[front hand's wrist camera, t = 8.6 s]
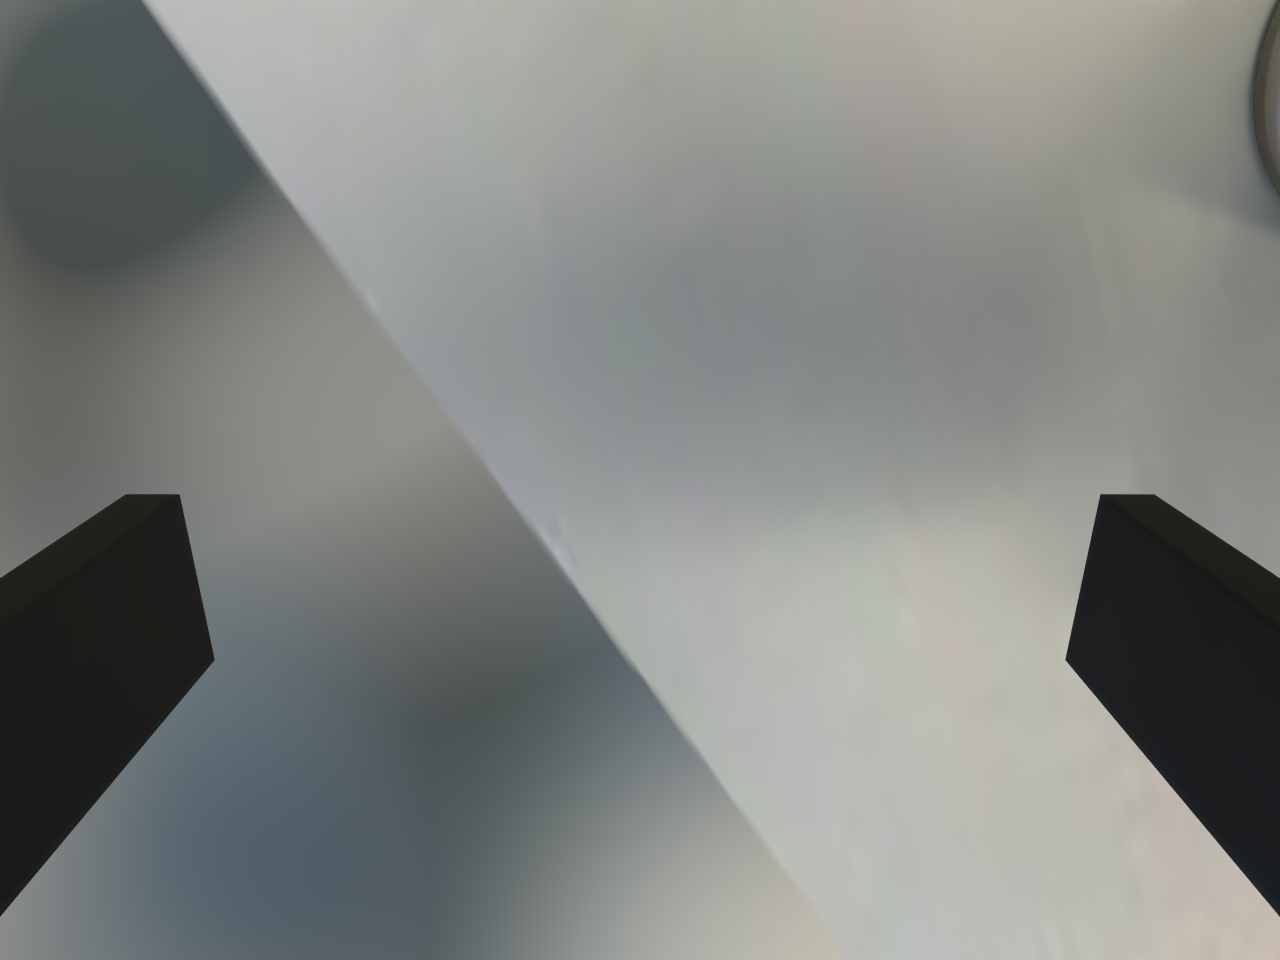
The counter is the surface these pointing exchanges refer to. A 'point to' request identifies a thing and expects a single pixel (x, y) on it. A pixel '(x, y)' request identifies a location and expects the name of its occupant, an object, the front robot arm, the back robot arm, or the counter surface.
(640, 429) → the counter surface
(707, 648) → the counter surface
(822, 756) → the counter surface
